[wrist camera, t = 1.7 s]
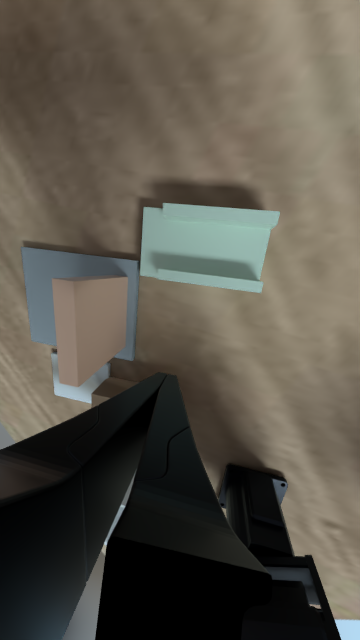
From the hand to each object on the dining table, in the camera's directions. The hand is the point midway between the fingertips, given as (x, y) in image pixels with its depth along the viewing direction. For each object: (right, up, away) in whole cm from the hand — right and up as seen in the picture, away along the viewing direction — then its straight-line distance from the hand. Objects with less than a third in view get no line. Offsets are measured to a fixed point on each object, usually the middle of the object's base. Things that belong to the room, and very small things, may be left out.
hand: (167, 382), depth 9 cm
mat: (-10, +4, +11) cm, 15 cm away
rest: (+2, +9, +8) cm, 12 cm away
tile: (-5, +4, +10) cm, 12 cm away
